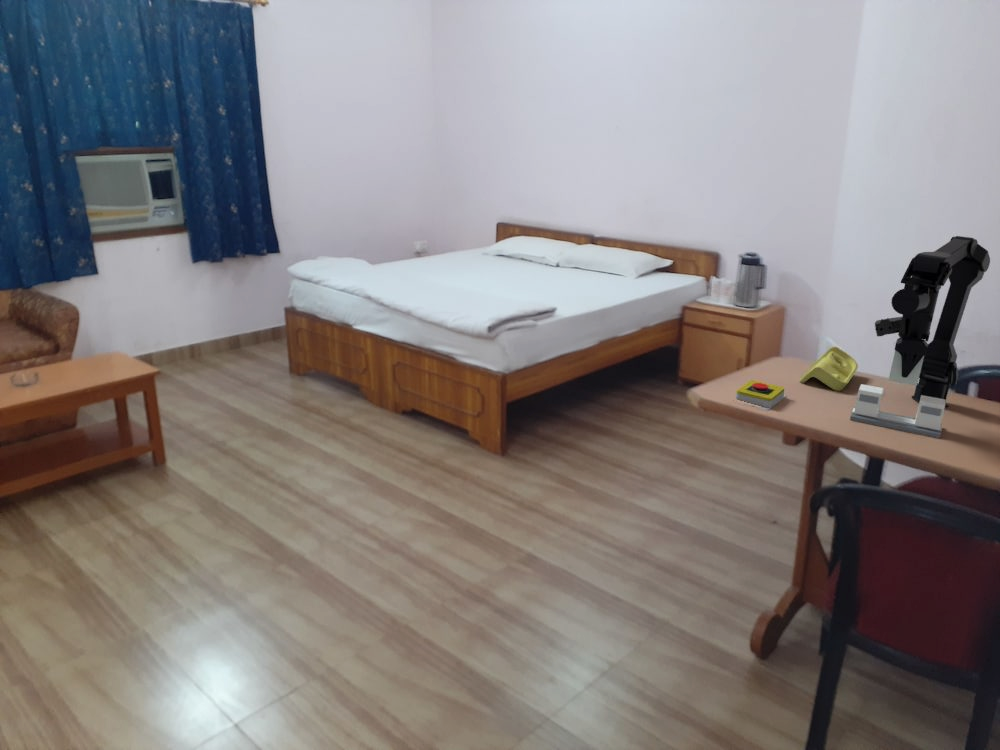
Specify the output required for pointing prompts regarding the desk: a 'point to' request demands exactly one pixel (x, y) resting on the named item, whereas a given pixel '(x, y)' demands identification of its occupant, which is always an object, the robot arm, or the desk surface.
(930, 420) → the rail board
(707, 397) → the desk surface
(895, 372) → the block
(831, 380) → the plastic component
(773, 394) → the emergency button
